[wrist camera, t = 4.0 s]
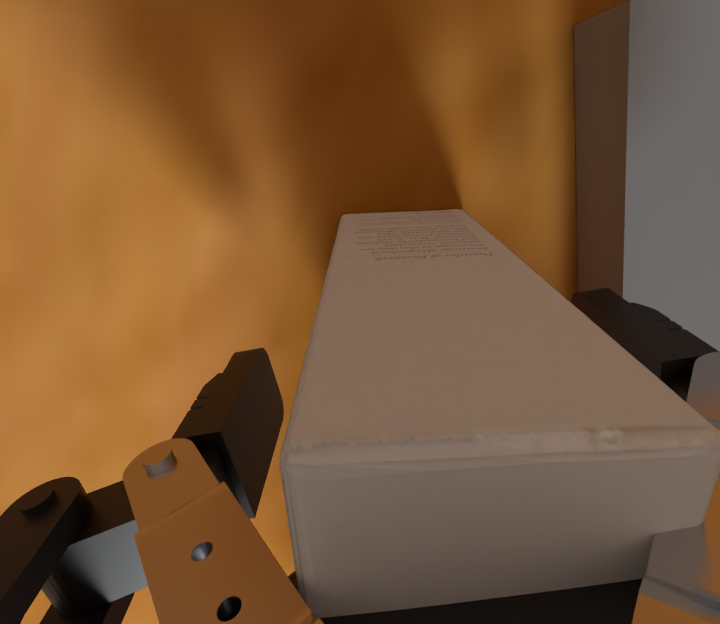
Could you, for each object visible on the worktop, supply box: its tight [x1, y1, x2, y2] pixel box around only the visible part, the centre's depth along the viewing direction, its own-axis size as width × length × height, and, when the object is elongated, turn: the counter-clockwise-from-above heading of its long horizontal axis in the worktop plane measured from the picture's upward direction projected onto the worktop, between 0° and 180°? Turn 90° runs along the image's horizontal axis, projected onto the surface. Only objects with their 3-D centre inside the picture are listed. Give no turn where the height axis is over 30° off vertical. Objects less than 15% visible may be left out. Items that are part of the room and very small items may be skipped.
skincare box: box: [280, 209, 720, 618], centre depth 11 cm, size 6×4×12 cm
